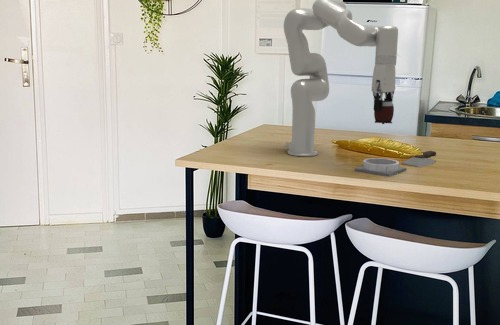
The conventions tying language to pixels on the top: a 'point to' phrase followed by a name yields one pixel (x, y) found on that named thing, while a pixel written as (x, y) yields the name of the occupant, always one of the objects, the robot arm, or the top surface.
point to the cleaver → (421, 160)
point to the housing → (380, 166)
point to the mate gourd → (385, 113)
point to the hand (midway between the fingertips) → (382, 109)
